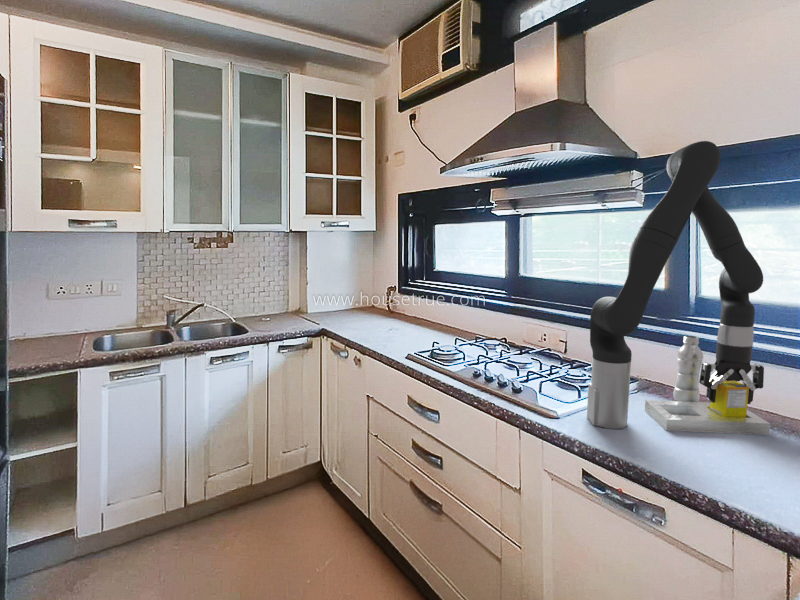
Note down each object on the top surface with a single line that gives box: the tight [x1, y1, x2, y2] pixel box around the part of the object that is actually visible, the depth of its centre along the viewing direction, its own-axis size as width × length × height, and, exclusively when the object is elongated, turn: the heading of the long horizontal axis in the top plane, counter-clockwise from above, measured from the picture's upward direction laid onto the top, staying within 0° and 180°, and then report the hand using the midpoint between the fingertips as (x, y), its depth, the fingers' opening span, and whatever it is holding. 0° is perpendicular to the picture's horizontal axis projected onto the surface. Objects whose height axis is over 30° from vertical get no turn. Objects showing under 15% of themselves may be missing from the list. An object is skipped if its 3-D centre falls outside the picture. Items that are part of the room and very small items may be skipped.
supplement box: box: [709, 380, 749, 418], centre depth 124 cm, size 6×6×11 cm
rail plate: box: [644, 399, 771, 436], centre depth 125 cm, size 24×14×3 cm, turn 83°
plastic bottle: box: [672, 335, 704, 402], centre depth 138 cm, size 6×7×20 cm
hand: (728, 402), depth 124 cm, fingers open, 8 cm apart
